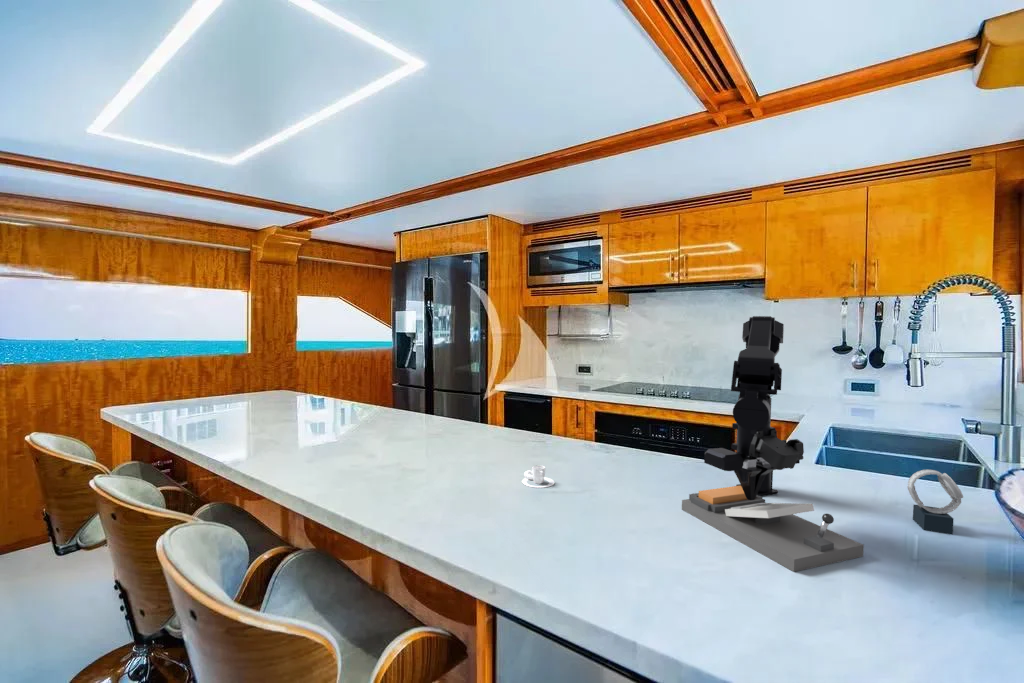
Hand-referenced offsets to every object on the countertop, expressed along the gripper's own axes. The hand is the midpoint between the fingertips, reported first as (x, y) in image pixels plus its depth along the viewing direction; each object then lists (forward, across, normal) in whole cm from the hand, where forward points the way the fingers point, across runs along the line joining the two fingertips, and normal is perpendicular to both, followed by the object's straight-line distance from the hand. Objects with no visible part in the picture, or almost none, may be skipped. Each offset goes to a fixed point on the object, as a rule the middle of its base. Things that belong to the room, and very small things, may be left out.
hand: (750, 499), depth 92 cm
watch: (+5, +34, -12) cm, 36 cm away
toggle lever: (+1, 0, -14) cm, 14 cm away
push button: (+2, 0, +6) cm, 7 cm away
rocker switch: (0, 0, -4) cm, 4 cm away
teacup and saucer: (+6, -28, +36) cm, 46 cm away
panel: (+5, 0, -3) cm, 6 cm away
